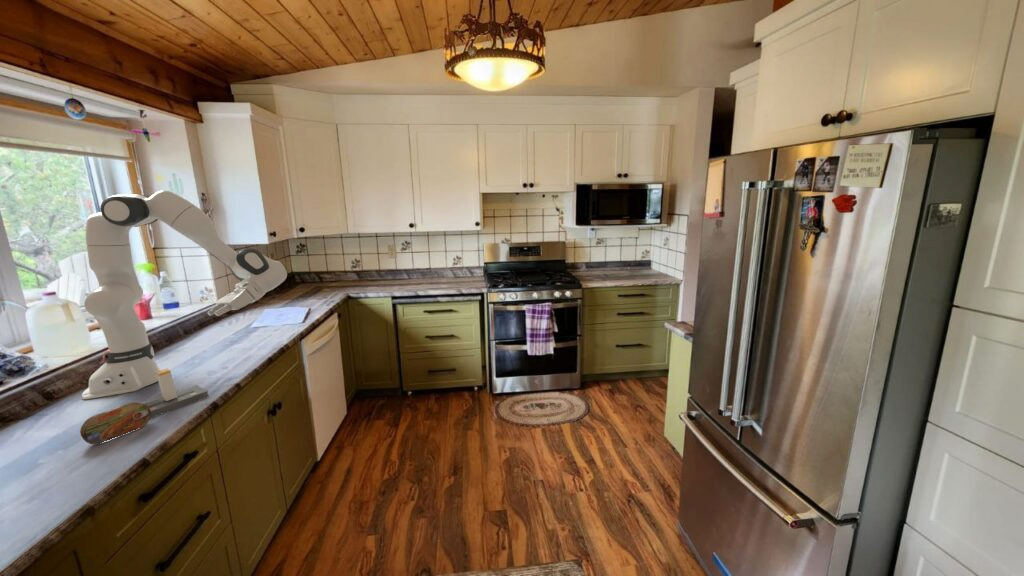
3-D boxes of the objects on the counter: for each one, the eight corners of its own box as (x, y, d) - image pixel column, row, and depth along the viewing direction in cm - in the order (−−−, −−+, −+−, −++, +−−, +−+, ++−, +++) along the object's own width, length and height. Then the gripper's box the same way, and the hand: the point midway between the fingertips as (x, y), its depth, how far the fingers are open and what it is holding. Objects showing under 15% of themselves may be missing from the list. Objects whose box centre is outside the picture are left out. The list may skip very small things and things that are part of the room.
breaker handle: (166, 401, 134) (158, 373, 132) (163, 399, 136) (155, 371, 133) (177, 397, 136) (170, 370, 134) (174, 395, 138) (166, 368, 136)
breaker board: (142, 421, 127) (140, 415, 126) (132, 413, 132) (131, 407, 131) (208, 396, 141) (207, 390, 141) (197, 390, 146) (196, 384, 146)
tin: (86, 450, 113) (77, 423, 111) (83, 447, 115) (74, 420, 113) (154, 423, 125) (147, 398, 123) (150, 421, 127) (143, 396, 125)
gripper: (233, 285, 161) (198, 307, 153) (251, 284, 148) (214, 307, 139) (244, 298, 164) (210, 320, 155) (262, 297, 151) (227, 321, 142)
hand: (212, 314), depth 147 cm, fingers open, 8 cm apart
